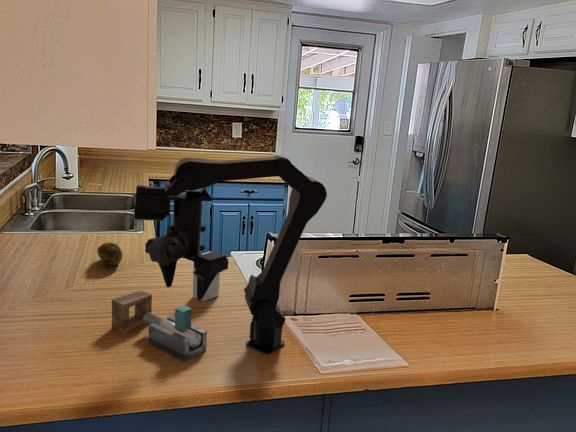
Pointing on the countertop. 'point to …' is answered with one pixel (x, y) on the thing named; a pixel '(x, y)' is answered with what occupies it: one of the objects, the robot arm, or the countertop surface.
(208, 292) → the skincare box
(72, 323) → the countertop surface
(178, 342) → the channel
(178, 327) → the rod
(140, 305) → the socket block
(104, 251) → the potato
